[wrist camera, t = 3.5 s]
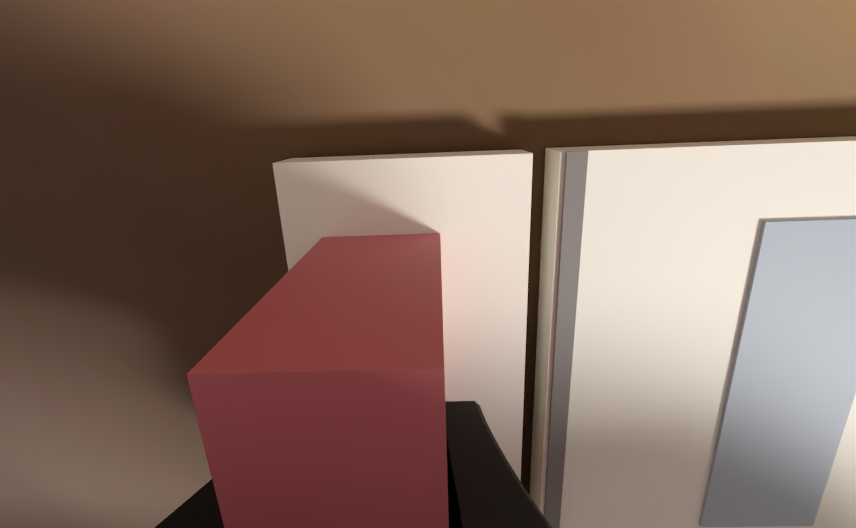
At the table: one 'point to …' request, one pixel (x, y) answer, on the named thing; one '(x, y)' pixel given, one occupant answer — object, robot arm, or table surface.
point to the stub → (372, 341)
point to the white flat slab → (697, 336)
